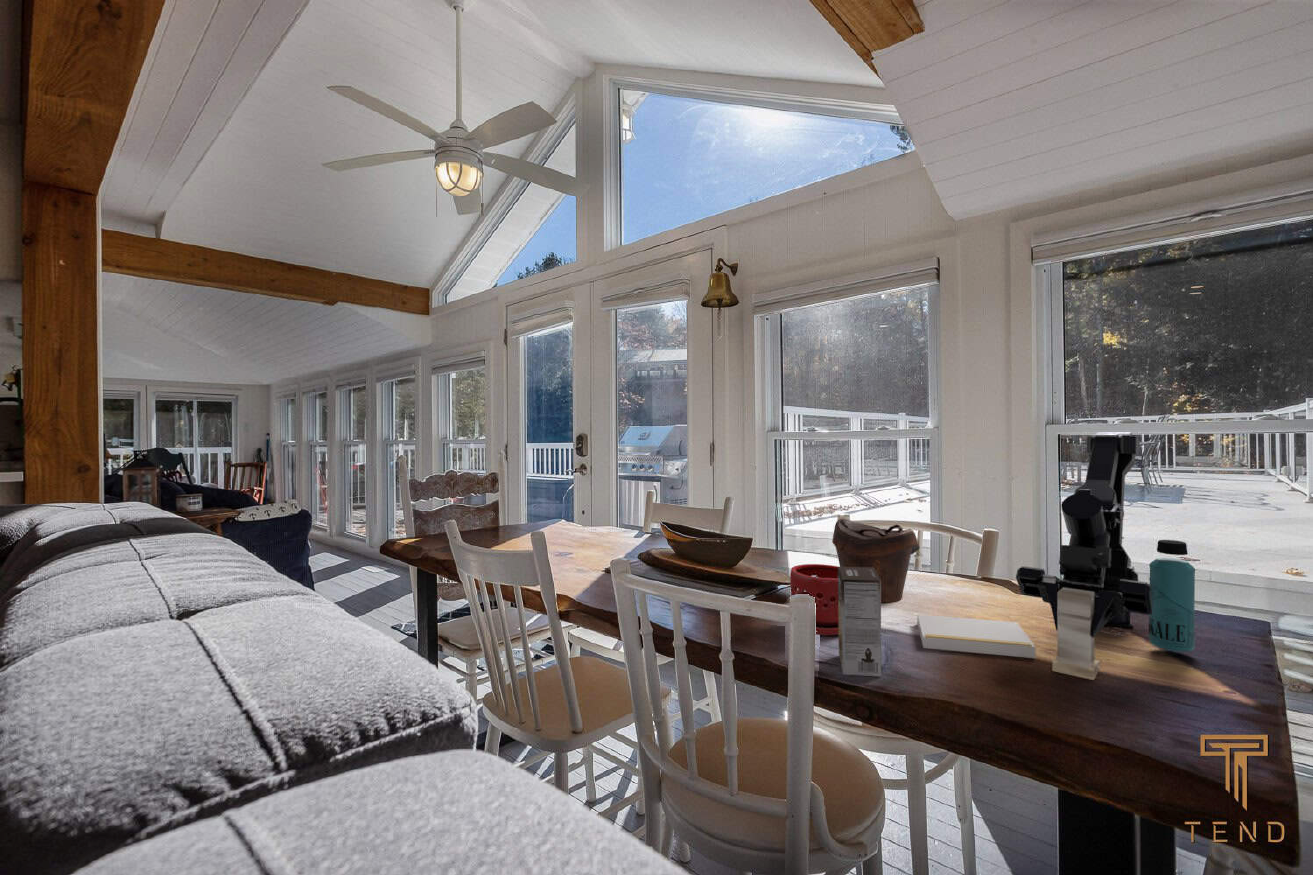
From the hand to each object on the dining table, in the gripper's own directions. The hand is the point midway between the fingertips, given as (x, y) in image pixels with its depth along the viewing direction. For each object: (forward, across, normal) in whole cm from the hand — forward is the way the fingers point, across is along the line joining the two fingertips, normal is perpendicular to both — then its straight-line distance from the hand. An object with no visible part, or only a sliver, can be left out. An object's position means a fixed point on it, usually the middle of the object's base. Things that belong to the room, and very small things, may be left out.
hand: (1074, 632), depth 101 cm
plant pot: (+10, -41, 0) cm, 43 cm away
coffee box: (+19, -27, -10) cm, 35 cm away
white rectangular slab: (+1, -17, +8) cm, 19 cm away
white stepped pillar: (+4, 0, +6) cm, 7 cm away
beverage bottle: (-10, +11, +20) cm, 24 cm away
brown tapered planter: (-11, -44, +21) cm, 50 cm away
